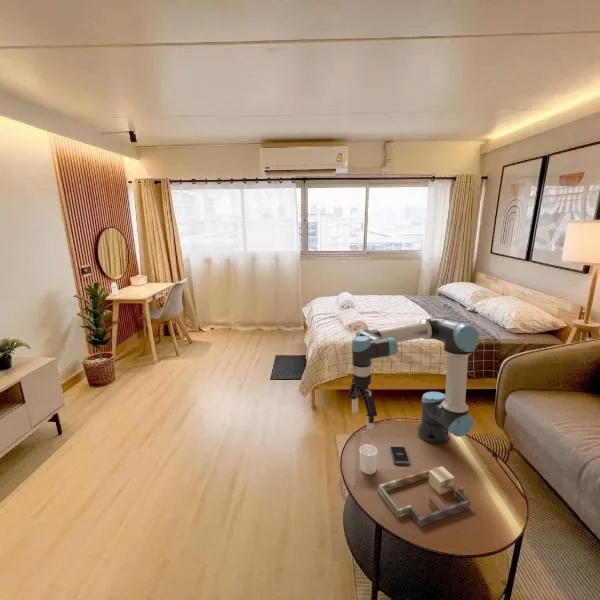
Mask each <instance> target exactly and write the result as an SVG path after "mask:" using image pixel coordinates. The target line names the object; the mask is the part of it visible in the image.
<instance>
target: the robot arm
mask: <svg viewBox="0 0 600 600" xmlns="http://www.w3.org/2000/svg"><path fill="white" fill-rule="evenodd" d="M419 339H423V340H436V341H440V342H442V343H443V351H444V352H445V353H446V354H447V355H446V356H447V357H446V374H445V375H446V376H445V393H442V392H440V391H427V392H425V393H423V395H422V397H421V418H420V419H421V420H420V422H419V425H418V427H417V435H418V436H419V438H420V439H422V440H423V441H425V442H428V443H430V444H435V445H436V444H437V445H438V444H440V445H441V444H444V443H446V442H448V441H449V438H450V437H449V435H450V434H451V435H453V436H455V437H464V436H465V435H467V434H469V432H470V431H471V430H472V429H473V426H474V418H473V417H472V415H470V414H469V405H468V404H467V403H466V396H467V395H466V394H467V381H468V380H467V379H468V364H469V356H470V355H471V354H473V351H475V350H476V349H477V346H478V345H479V343H480V335H479V331H478V330H477V328H476V327H474V326H473V325H471V324H469V323H466V322H462V321H459V320H456V319H453V318H449V317H433V318H426V319H421V320H420V321H419V322H414V323H407V324H403V325H396V326H390V327H384V328H376V329H371V330H370V329H366V328H361V329H359V330H357V332H356V333H355V337H353V338H352V341H351V342H352V343H351V357H352V360H351V361H352V368H351V370H352V379H351V385H350V387H349V388H350V389H349V392H348V394H349V396H350V398H351V413H352V414H355V413H359V395H360V397H361V400H362V401H363V403H364V406H365V409H366V413H367V414H366V430H367V431H370V430H374V429H375V424H374V422H375V421H374V420H375V417H377V416H378V412H377V409H376V404H375V403H376V402H375V399H374V393H373V392H374V391H373V390H372V389H371V390H370V389H369V386H370V384H371V383H372V360H374V359H380V358H384V357H385V358H386V357H391V356H394V355H397V353H398V351H399V348H398V347H399V346H398V343H401V342H407V341H413V340H419Z"/></svg>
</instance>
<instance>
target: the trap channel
mask: <svg viewBox="0 0 600 600" xmlns="http://www.w3.org/2000/svg"><path fill="white" fill-rule="evenodd" d="M439 467H441V466H440V465H437V466H435V467H431V468H429V469H425V470H423V471H419V472H416V473H413V474H409V475H407V476H402V477H400V478H397V479H393V480H391V481H388V482H384V483H381V484H378V485H377V492H378V494H379V495H380V496H381V497H382V499H383V501H384V502H385V503H386V505H387V506H388V507H389V508H390V510H391V511H392V512H393V514H394V513H395V514H394V515H395V516H396V518H397V517H398V518H397V519H400V518H402V516H403V517H405V515H406V516H407V515H409V516H410V517H411V518H412V520H413V521H414V522H415V523H416V525H417V526H418V527H419V528H421V527H424V526H427V525H429V524H432V523H434V522H437V521H440V520H443V519H445V518H447V517H450V516H453V515H456V514H458V513H461V512H463V511H467V510H469V509H470V507H471V506H470V505H471V504H470V503H471V501H470V500H469V499H467V497H466V496H464V495H465V494H464V492H465V488H464V487H463V486H460V487H457V488H454V490H453V497H454V498H455V499H456V500H457V501H458V503H455V504H452V505H450V506H446V505H445V504H444V503H443V502H442V501H441V500H440V499H439V498H438V496H437V495H434V496H431V497H429V498H428V500H429V501H428V506H430V507H431V509H432V510H433V512H431V513H426V514H425V515H422V516H420V515H419V514H418V513H417V512H416V510H415V509H414V508H413V507H412V505H411V504H408V505H405V506H402V507H398V505H397V504H396V502H394V501H393V500H392V498H391V497H390V495H389V494H388V492H387V491H390V490H394V489H397V488H400V487H402V486H407V485H409V484H412V483H415V482H418V481H422V480H425V479H429V470H433V469H436V468H439ZM399 517H400V518H399Z"/></svg>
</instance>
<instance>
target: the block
mask: <svg viewBox="0 0 600 600" xmlns="http://www.w3.org/2000/svg"><path fill="white" fill-rule="evenodd" d="M455 480H456V479H455V476H454V475H453V474H452V473H450V472H449V470H447V469H446V468H445V467H444V466H440V467H439V468H436V469H433V470H429V477H428V484H429V485H430V486H431V487H432V488H433V490H435V491H436V492H437V493H438V494H439V495H444V494H446V493H449V492H451V491H454V489H455Z"/></svg>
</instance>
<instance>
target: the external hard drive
mask: <svg viewBox="0 0 600 600" xmlns="http://www.w3.org/2000/svg"><path fill="white" fill-rule="evenodd" d="M389 448H390V453H391V457H392V460H393V464H394V465H402V466H403V465H405V466H406V465H410V459H409V456H408V453H407V452H408V451H407V449H406V447H405V446H392V445H391V446H390V447H389Z"/></svg>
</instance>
